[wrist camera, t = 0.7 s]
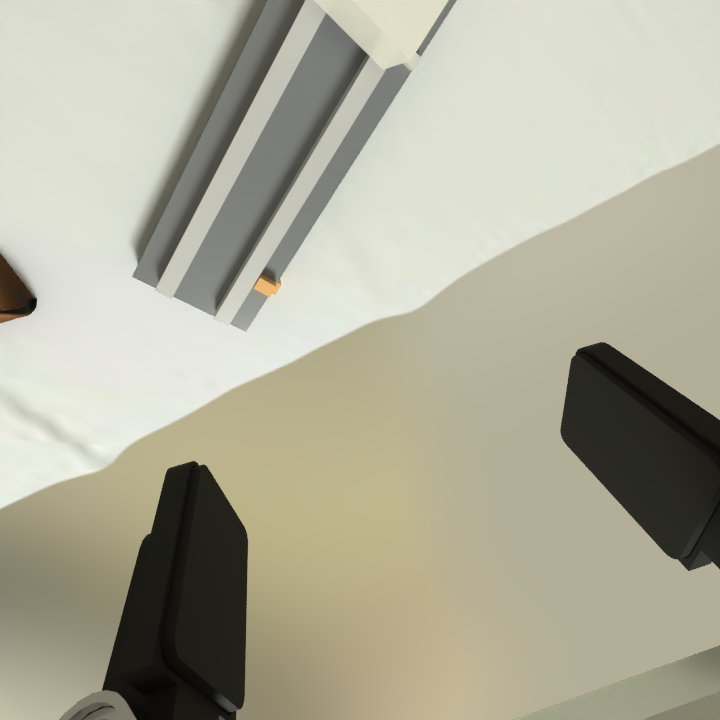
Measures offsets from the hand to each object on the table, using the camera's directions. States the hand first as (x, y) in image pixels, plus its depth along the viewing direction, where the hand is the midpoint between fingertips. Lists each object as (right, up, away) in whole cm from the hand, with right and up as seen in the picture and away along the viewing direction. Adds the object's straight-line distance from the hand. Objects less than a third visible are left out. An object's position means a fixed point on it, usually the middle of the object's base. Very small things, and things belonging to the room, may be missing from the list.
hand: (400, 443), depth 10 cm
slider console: (-7, +17, +18) cm, 26 cm away
